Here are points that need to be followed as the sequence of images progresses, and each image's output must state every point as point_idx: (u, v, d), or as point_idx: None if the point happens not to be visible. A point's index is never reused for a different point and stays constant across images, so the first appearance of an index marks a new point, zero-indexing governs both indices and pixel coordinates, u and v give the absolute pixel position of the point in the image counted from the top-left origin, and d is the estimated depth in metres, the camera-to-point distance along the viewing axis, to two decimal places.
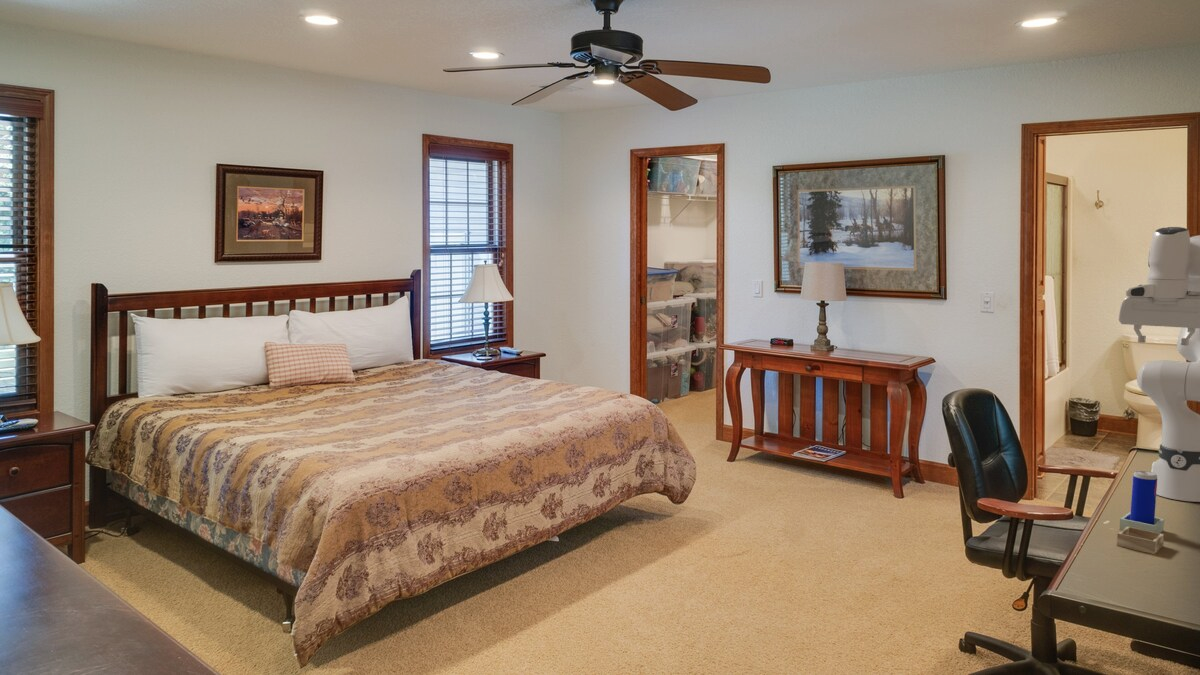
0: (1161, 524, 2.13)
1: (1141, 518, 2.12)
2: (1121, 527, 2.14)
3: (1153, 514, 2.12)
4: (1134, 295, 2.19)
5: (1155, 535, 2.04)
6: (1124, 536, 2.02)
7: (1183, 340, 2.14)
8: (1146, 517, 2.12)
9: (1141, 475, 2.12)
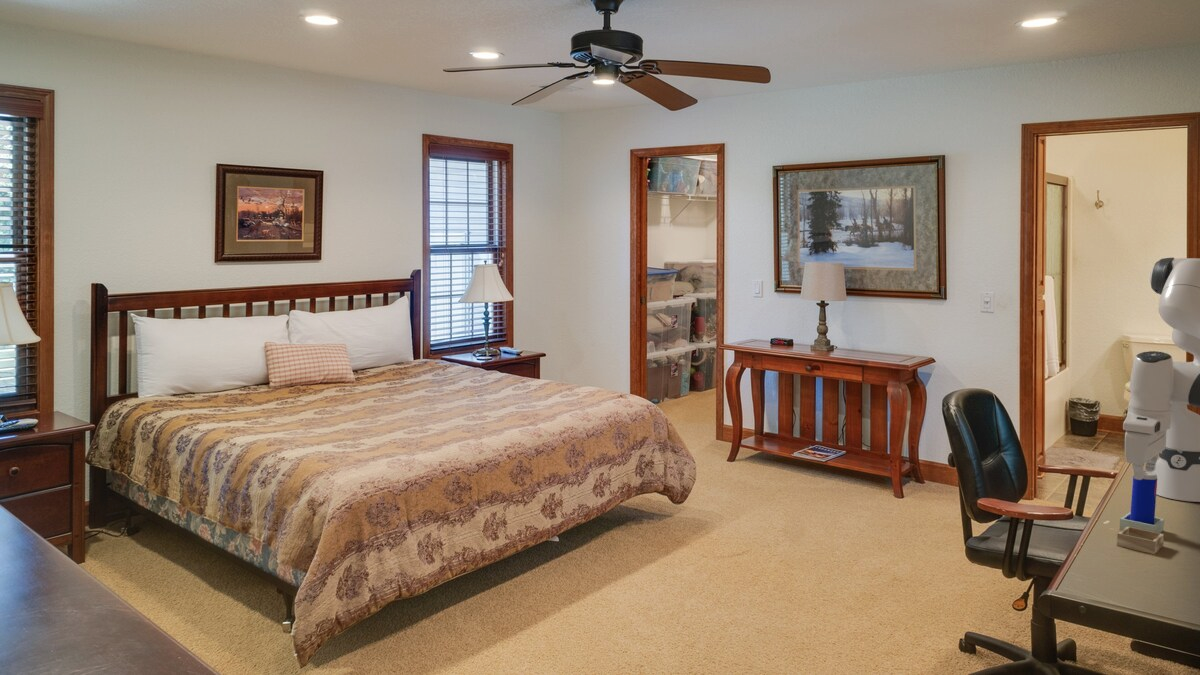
0: (1161, 524, 2.13)
1: (1141, 518, 2.12)
2: (1121, 527, 2.14)
3: (1153, 514, 2.12)
4: (1156, 431, 1.97)
5: (1155, 535, 2.04)
6: (1124, 536, 2.02)
7: (1154, 466, 2.07)
8: (1146, 517, 2.12)
9: None
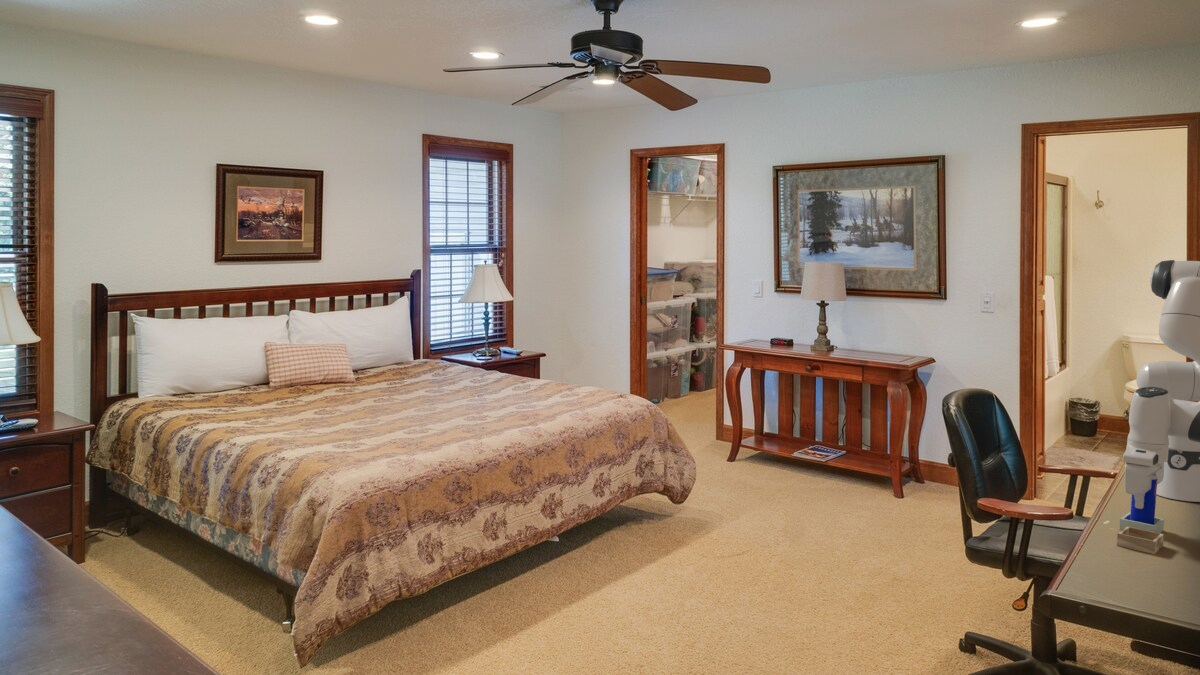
0: (1161, 524, 2.13)
1: (1141, 518, 2.12)
2: (1121, 527, 2.14)
3: (1153, 514, 2.12)
4: (1154, 464, 2.06)
5: (1155, 535, 2.04)
6: (1124, 536, 2.02)
7: None
8: (1146, 517, 2.12)
9: None
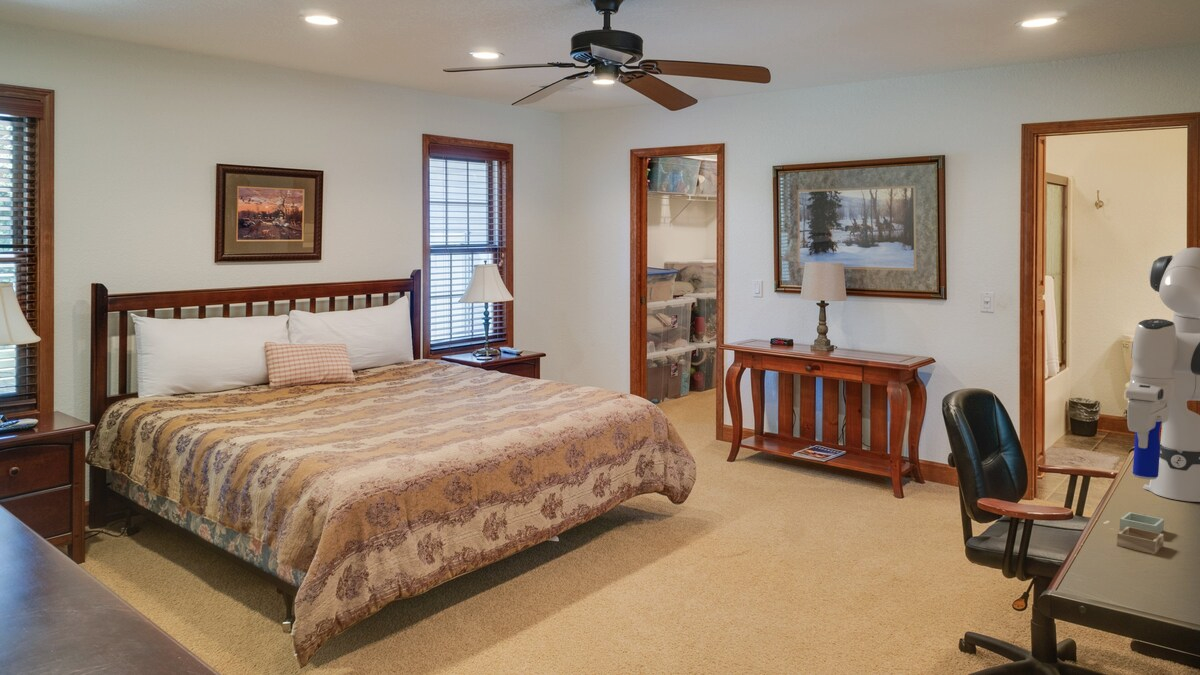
0: (1161, 524, 2.13)
1: (1145, 463, 1.99)
2: (1121, 527, 2.14)
3: (1157, 459, 1.99)
4: (1159, 399, 1.93)
5: (1155, 535, 2.04)
6: (1124, 536, 2.02)
7: None
8: (1150, 462, 1.99)
9: None
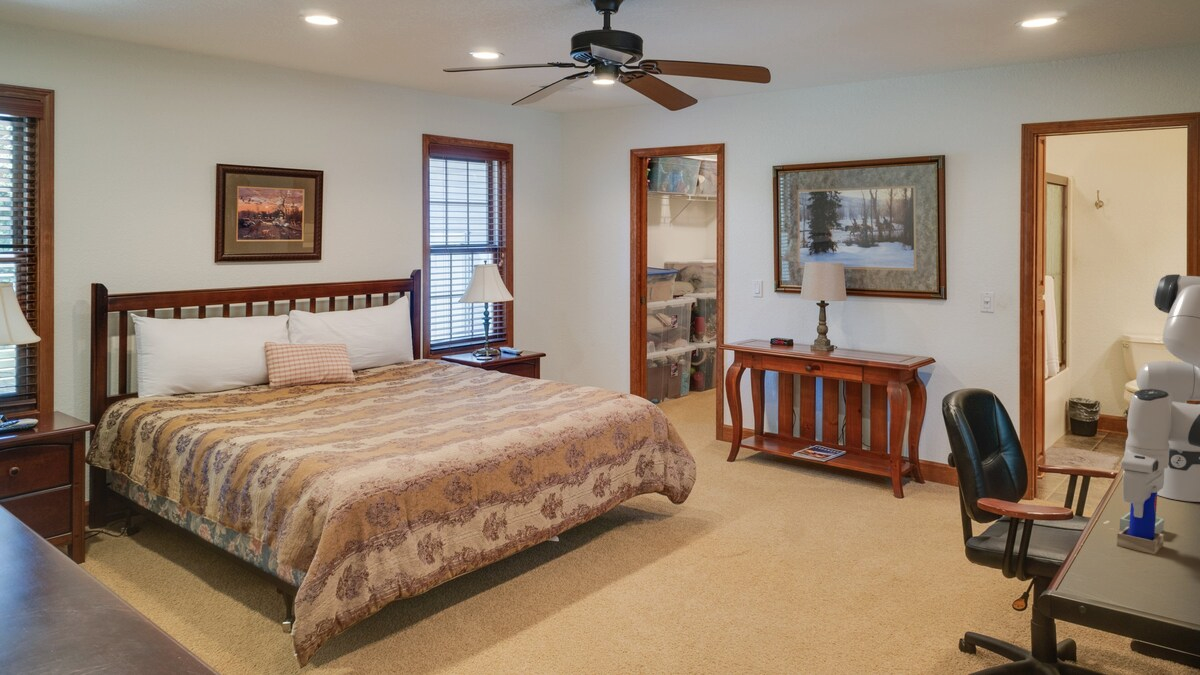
0: (1161, 524, 2.13)
1: (1140, 533, 2.01)
2: (1121, 527, 2.14)
3: (1153, 529, 2.01)
4: (1154, 470, 1.95)
5: (1155, 535, 2.04)
6: (1124, 536, 2.02)
7: None
8: (1145, 532, 2.01)
9: None
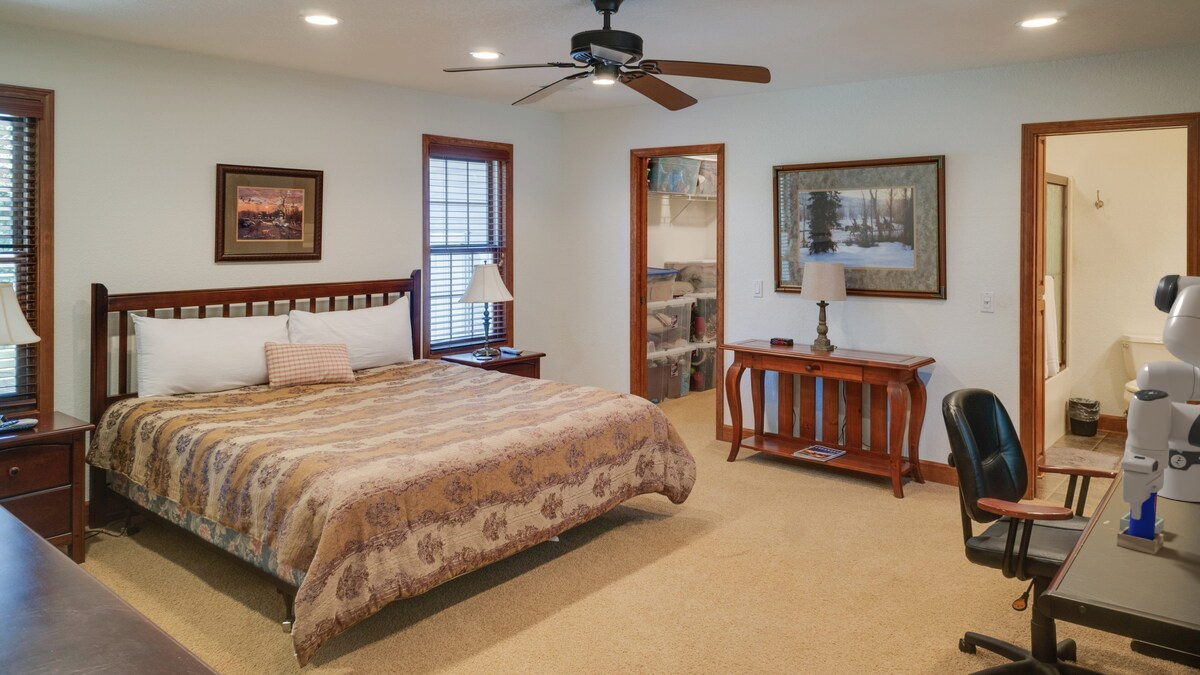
0: (1161, 524, 2.13)
1: (1140, 533, 2.01)
2: (1121, 527, 2.14)
3: (1153, 529, 2.01)
4: (1153, 471, 1.95)
5: (1155, 535, 2.04)
6: (1124, 536, 2.02)
7: None
8: (1145, 532, 2.01)
9: None
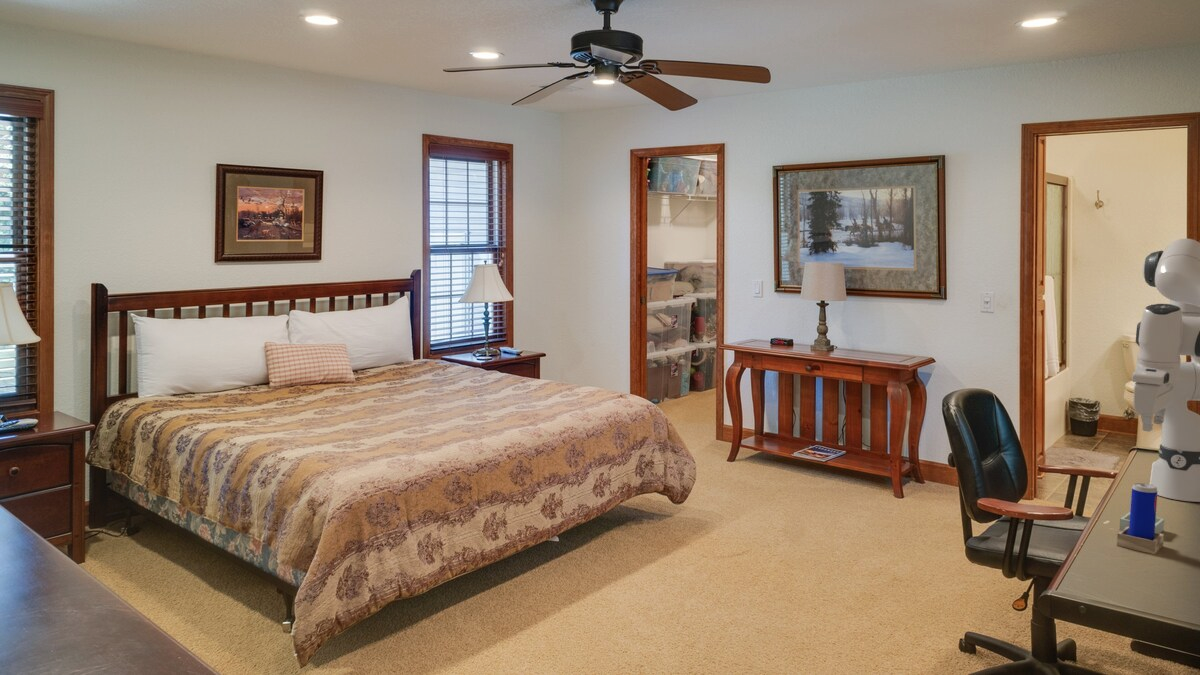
0: (1161, 524, 2.13)
1: (1140, 533, 2.01)
2: (1121, 527, 2.14)
3: (1153, 529, 2.01)
4: (1165, 382, 1.97)
5: (1155, 535, 2.04)
6: (1124, 536, 2.02)
7: (1162, 419, 2.08)
8: (1145, 532, 2.01)
9: (1140, 488, 2.01)
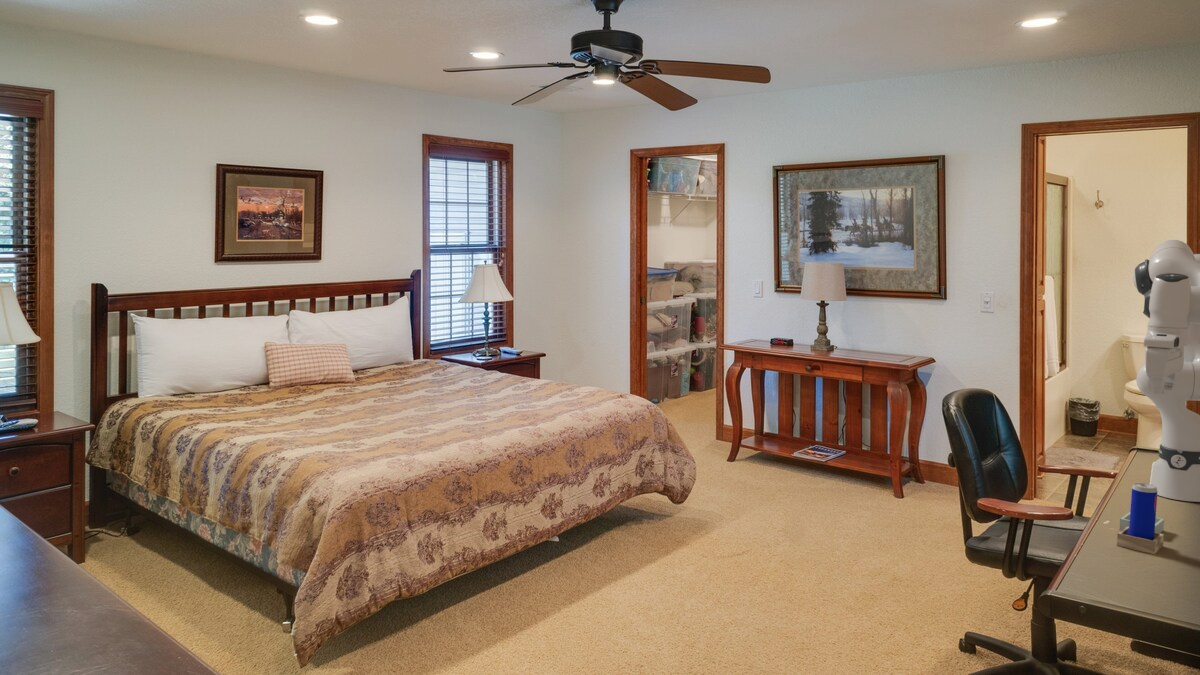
0: (1161, 524, 2.13)
1: (1140, 533, 2.01)
2: (1121, 527, 2.14)
3: (1153, 529, 2.01)
4: (1175, 346, 2.07)
5: (1155, 535, 2.04)
6: (1124, 536, 2.02)
7: (1172, 385, 2.17)
8: (1145, 532, 2.01)
9: (1140, 488, 2.01)
